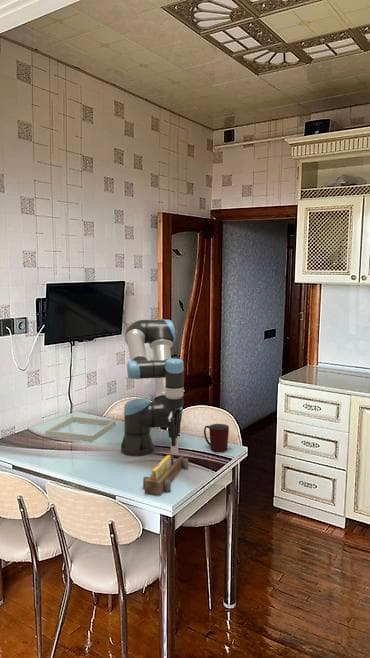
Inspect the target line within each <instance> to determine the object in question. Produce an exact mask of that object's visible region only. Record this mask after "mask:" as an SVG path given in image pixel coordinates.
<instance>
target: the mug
mask: <svg viewBox="0 0 370 658" xmlns="http://www.w3.org/2000/svg"><path fill="white" fill-rule="evenodd" d="M229 426H230V425H228V424H225V423H213V424H210V425H205V426H204V429H203V437H204V439H205V441H206V443H207V445H208V446H209V447H210V450H211V452H213V453H217V452H222V453H225V451H226V452H227V451H228V443H229V432H230V431H229V429H230V427H229ZM207 429H208V430H209V439H208V437H207Z"/></svg>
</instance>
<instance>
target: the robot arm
mask: <svg viewBox="0 0 370 658" xmlns="http://www.w3.org/2000/svg"><path fill="white" fill-rule="evenodd" d="M176 338H177V335H176V329H175V325H174V322H173V321H172V320H170V319H164V318H162V319H139V320H136V321H135V322H132V323H131V324H130V325H129V326H127V329H126V330H125V331H124V341H125V344H126V345H127V346H128V347H127V349H128V352H129V360H128V361H127V364H126V369H127V370H126V372H127V373H126V375H127V378H128V379H132V380H133V379H135V380H139V379H140V380H141V379H142V380H143V379H154V381H155V392H156V394H155V396H154V397H153V401H151V400H150V398H146V397H143V398H142V397H139V398H134V399H132V400H129V401H126V403H125V404H124V409H123V410H124V411H123V416H124V417H123V418H124V427H123V428H124V429H123V431H124V435H123V439H122V442H121V444H120V452H121V453H122V454H123V455H126V456H131V457H142V456H147V455H150V454H151V453H154V452H155V451H154V450H155V444H154V441H153V439H152V435H151V429H152V428H153V429H154V428H167V430H168V431H167V433H168V438H169V439H170V453H173V454H178V453H179V437H181V423H182V419H183V407H184V405H185V402H184V393H185V389H184V386H185V385H184V384H185V383H184V377H185V375H184V374H185V373H184V372H185V371H184V370H185V367H184V361H183V359H181V358H172V354H171V353H172V352H171V348H172V347H173V346H174V343H175V342H176ZM145 344H149V345H148V346H149V348H150V349H152V356H153V360H152V359H151V360H149V359H148V355H147V351H146V346H145Z"/></svg>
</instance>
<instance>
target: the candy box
mask: <svg viewBox="0 0 370 658" xmlns="http://www.w3.org/2000/svg"><path fill="white" fill-rule="evenodd" d="M171 455H172V454H168V455H165V456H166V457H165V458H164V459H163V458H162V460H161V461H160V462H159V463H157V465H156V466H155V467H154V468H153V469H151V475H152V480H158V481H159V480H160V478H161V477H162V476H163V475H164V474H165V473H166V472H167V470H168V469H169V468H170V467H171Z"/></svg>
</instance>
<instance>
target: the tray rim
mask: <svg viewBox="0 0 370 658" xmlns="http://www.w3.org/2000/svg"><path fill="white" fill-rule="evenodd" d="M72 422H73V423H74V422H78V423H77V424H84V423H88V424H87V425H94V424H98V425H97V426H103V427H102V428H100V429H99V430H97V431H95V432H93V434H83V433H75V432H66V431H60V430H61V429H60V428H62V427H64V426H66V425H67V426H69V425H71V424H72ZM70 423H71V424H70ZM116 423H117V422H116V420H114V419H113V420H112V419H102V418H95V417H94V418H92V417H83V416H82V417H81V416H73V415H72V416H70V417H69V418H66V419H65V420H62V421H61V422H58V424H55V425H54V426H51V427H49V428H48V429H46V430H44V431H45V432H44V434H45V435H44V436H50V437H49V438H53V437H57V438H56V439H62V438H65V439H64V440H71V439H74V440H73V441H80V440H82V441H81V442H88V441H89V443H93V442H95V441H96V440H98V439H99V438H100V436H101V437H102V436H103V435H105V434H106V433H108V432H109V431H111V430H112V429H114V428H115V427H116V425H117V424H116ZM68 424H69V425H68ZM104 425H106V426H104ZM67 426H66V427H67ZM113 427H114V428H113ZM64 428H65V427H64ZM59 429H60V430H59ZM62 429H63V428H62ZM57 430H59V431H57ZM97 438H98V439H97ZM94 440H95V441H94Z"/></svg>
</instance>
